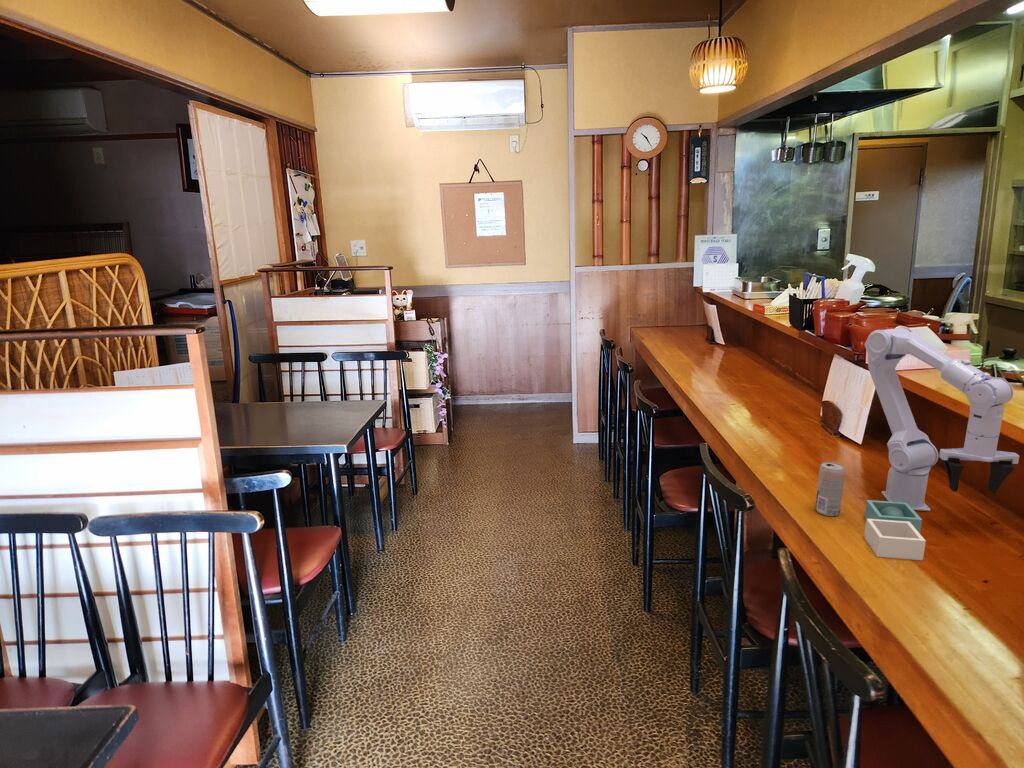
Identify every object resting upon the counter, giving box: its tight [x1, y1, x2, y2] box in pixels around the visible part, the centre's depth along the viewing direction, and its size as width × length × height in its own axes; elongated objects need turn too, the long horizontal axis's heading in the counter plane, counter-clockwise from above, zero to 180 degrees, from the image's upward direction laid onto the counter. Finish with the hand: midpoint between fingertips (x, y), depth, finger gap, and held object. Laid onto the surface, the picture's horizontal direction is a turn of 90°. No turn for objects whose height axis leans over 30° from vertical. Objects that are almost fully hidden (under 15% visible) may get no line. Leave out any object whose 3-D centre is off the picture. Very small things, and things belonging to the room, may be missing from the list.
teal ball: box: [880, 507, 905, 517], centre depth 142 cm, size 5×5×5 cm
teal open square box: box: [864, 499, 923, 534], centre depth 143 cm, size 9×9×4 cm
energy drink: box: [814, 461, 846, 517], centre depth 150 cm, size 5×5×12 cm
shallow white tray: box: [863, 519, 927, 561], centre depth 134 cm, size 9×9×4 cm
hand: (972, 490), depth 139 cm, fingers open, 7 cm apart
